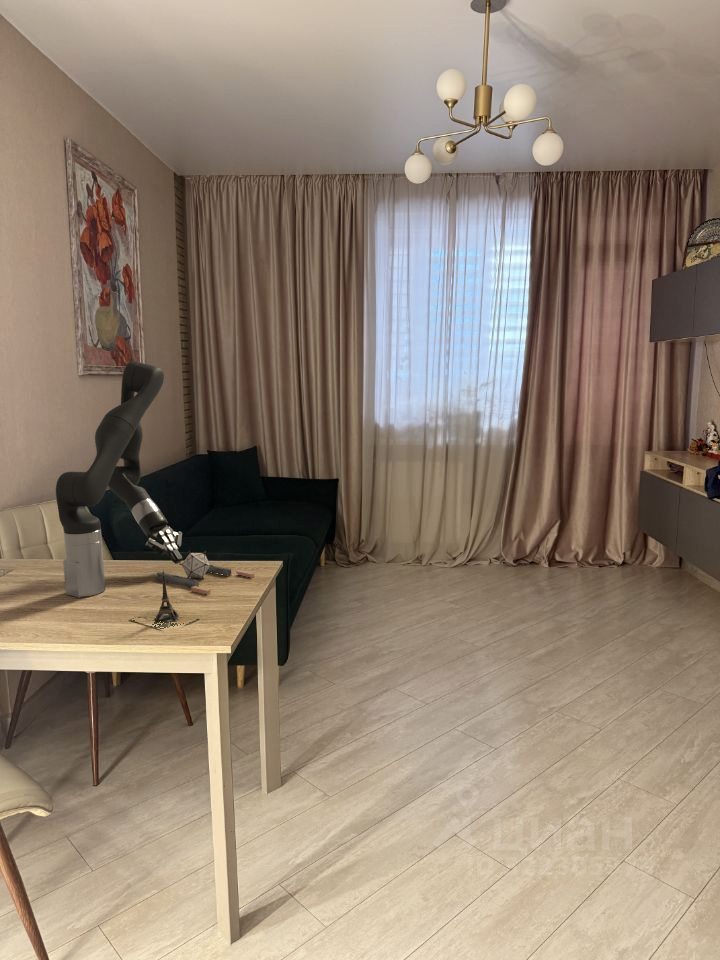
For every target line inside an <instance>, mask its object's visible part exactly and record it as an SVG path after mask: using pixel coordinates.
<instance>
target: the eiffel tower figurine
mask: <svg viewBox="0 0 720 960" xmlns="http://www.w3.org/2000/svg"><path fill="white" fill-rule="evenodd" d="M161 572H162V575H163V581H162V597H161V605H160V606H159V609H158V613H157V615H155V616H156V618H155V617H154V620H155V622H154V624H157V623H159V622H160V621H161V622H160V623H163V622H164V623H163V624H162V625H161V624H157V625H159V626H158V627H156V625H155V626H154V628H153V629H156V630H158V629H157V628H160V627H164V628H166V627H167V628H169V627H170V626H173V625H174V626H175V625H177V626H178V624H177V623H175V624H174V623H172V624H171V622H177V621H179V618H180V614H179V613H178V612H177V611H176V610H175V608H174V607H173V604H171V602H170V599H169V596H168V591H167V584H166V583H167V582H165V573H166V572H165V571H164V570H162V571H161ZM165 603H166V605H165ZM134 618H135V617H133V618H130V619H129V621H130V622H133V621H135V620H133V621H132V619H134ZM197 621H198V620H196V621H195V622H197ZM169 622H170V623H169ZM165 623H166V624H165ZM189 623H190V622H189ZM154 624H152V625H154ZM183 624H184V623H183ZM190 624H191V623H190ZM180 625H181V624H180ZM174 626H173V627H174ZM150 628H152V626H151V627H150ZM164 628H160V629H164Z"/></svg>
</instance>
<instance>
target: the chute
mask: <svg viewBox="0 0 720 960" xmlns="http://www.w3.org/2000/svg"><path fill="white" fill-rule="evenodd" d="M162 572H163V571H159V572H156V578H157V580H158V581H161V582H163V575H162ZM209 572H212V573H211V574H214V573H218V574H223V575H228V576H229V575H231V576H232V569H231V568H227V567H224V566H223V567H222V566H219V565H218V566H217V565H213V567H211V566H210V568H209V569H208V570H207V572H206V573H209ZM218 574H217V575H218ZM223 575H222V576H223ZM228 576H227V577H228ZM229 577H230V576H229ZM165 583H170V584H173V585H174V584H175V585H179V586H183V587H186V586H187V587H188V588H191V587H194V586H197V587H200V586H199V580H197V579H193V578H190V577H189V578H187V577H185V576H184V577H183V576H179V575H176V574H170V573H166V572H165Z"/></svg>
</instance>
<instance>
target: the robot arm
mask: <svg viewBox="0 0 720 960" xmlns="http://www.w3.org/2000/svg"><path fill="white" fill-rule="evenodd" d="M164 380H165V373H164V371H163V369H162V368H160V367H159V366H156V365H152V364H148V363H143V362H138V361H134V360H132V361H129V362H127V363H126V365H125V367H124V369H123V373H122V376H121V391H120V392H121V393H120V404H119V405H118V406H115V407H114V408H112V409H111V410H109V411H107V413H106V414H105V415H104V416H103V418H102V419H101V421H100V423H99V425H98V426H97V429H96V431H95V435H94V443H95V444H94V445H95V450H96V454H95V455H96V456H95V458H94V461H93V462H92V463H91V465H90V467H89V468H88V470H86V471H66V472H63V473H62V474H61V475H59V477H58V478H57V481H56V484H55V485H56V486H55V497H56V504H57V509H58V510H57V511H58V517H59V522H60V524H61V526H62V529H63V536H64V537H63V539H64V549H65V559H64V560H63V561H62V563H63V565H62V566H63V576H64V585H65V586H64V587H65V594H66V595H68V596H72V597H75V598H78V599H79V598H84V597H91V596H95V595H98V594H99V595H100V594H102V593H103V592H105V591H106V577H105V564H104V563H105V562H104V555H103V551H104V550H103V539H102V538H103V537H102V526H101V520H100V519H99V518H98V517H97V516H95V515H93V514H92V513H91V512H89V511H88V510H87V507H94V506H96V505H97V504H99V503H100V501H101V500H102V499H103V497H104V495H106V491H107V489H108V488H109V489H110V490H111V491H112V492H113V493H114V494H115V495H116V496H117V497H118V498H119V499H121V500H122V502H124V503H125V505H126V506H127V507H128V509H129V510H130V512H131V513H132V516H133V517H134V520H135V521H136V522H137V525H139V527H140V529H141V530H142V532H143V534H145V536H146V537H147V539H148V540H147V541H146V542H145V544H144V545H145V546H144V547H146V548H147V549H150V550H152V551H153V552H156V553H158V554H160V555H161V556H163V555H167V556H168V557H169V558H170V560H171V562H172V563H174V564H175V565H177V564H178V565H179V564H180V563H181V562H182V561H183V556H182V554H181V553H180V552H179V548H180V547H181V546H182V537H183V532H182V531H178V532H177V531H174V529H173V528H172V527H170V526H169V522H168V519H167V518H166V517H165V515H164V514H163V512H162V511H161V509H160V508H159V506H158V505H157V504H156V502H155V501H154V500H153V499H152V498H151V496H150V495H149V494H148V491H147V490H146V489H145V488H144V487H142V486H138V484H139V482H140V481H141V475H142V474H141V461H140V452H141V447H142V442H143V428H142V424H141V420H142V418H143V417H144V415H145V413H146V412H147V410H148V409H149V407H150V406H151V404H152V403H153V401H154V400H155V399H156V397H157V396H158V394H159V392H160V391H161V389H162V388H163V384H164V382H165V381H164ZM135 393H136V394H135ZM121 459H122V460H123V465H118V463H119V461H120V460H121Z"/></svg>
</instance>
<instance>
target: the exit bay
mask: <svg viewBox="0 0 720 960" xmlns="http://www.w3.org/2000/svg"><path fill="white" fill-rule="evenodd" d="M235 572H236V573H235V574H238V575H242V576H241V577H243V576H246V577H245V578H248V577H250V578H249V579H254V578H255V573H254V572H249V571H246V570H240V569H239V570H235ZM238 575H237V576H238ZM253 577H254V578H253ZM190 588H191V592H192V591H193V592H192V593H196V592H198V593H197V594H200V593H202V594H201V595H204V594H209V595H211V589H209V588H205V587H201V586H199V587H197V586H194V587H190Z"/></svg>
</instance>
